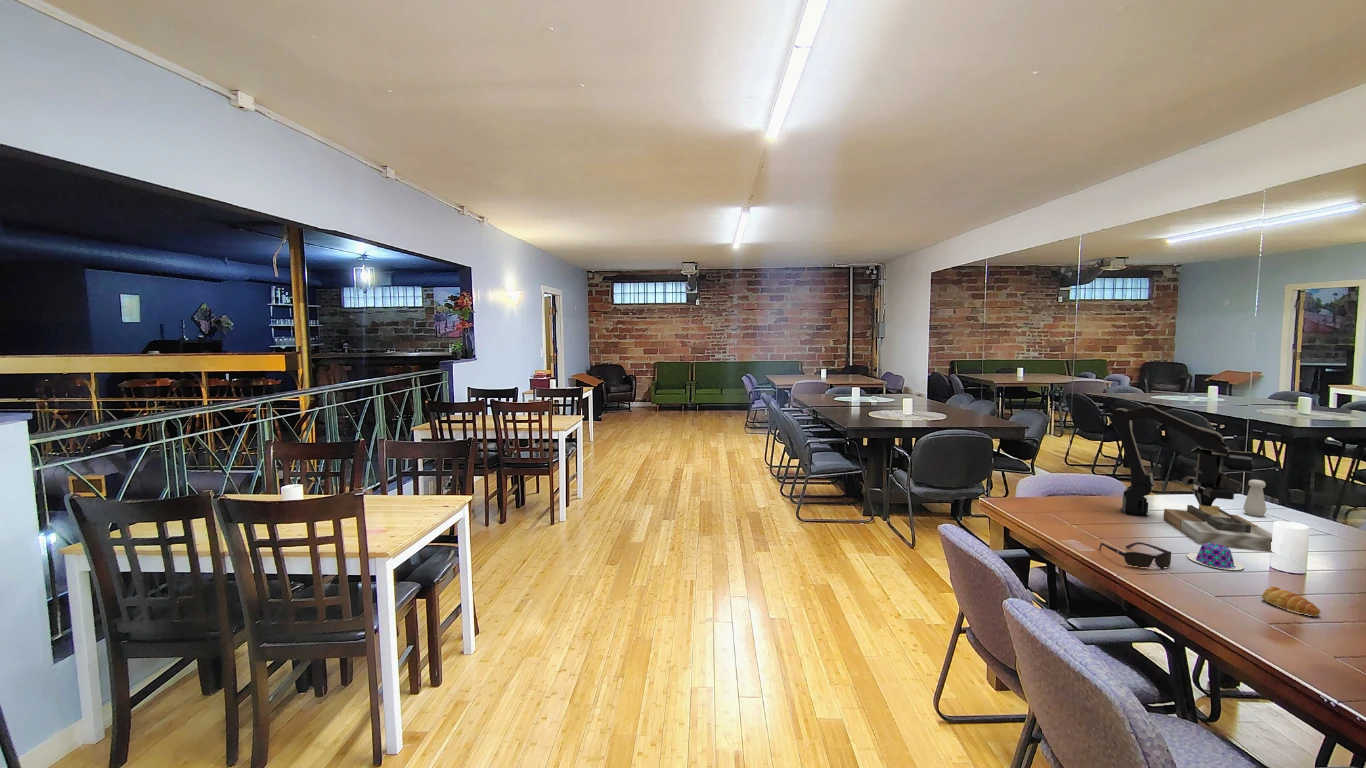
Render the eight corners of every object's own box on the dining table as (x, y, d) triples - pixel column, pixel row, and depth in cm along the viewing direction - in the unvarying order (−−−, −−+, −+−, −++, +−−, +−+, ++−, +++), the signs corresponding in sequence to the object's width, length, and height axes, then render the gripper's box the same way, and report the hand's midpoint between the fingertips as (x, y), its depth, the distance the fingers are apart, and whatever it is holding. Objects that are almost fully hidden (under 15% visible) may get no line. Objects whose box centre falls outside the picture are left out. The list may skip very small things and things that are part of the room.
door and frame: (1199, 543, 171) (1200, 524, 171) (1163, 519, 194) (1164, 501, 193) (1282, 552, 164) (1284, 531, 164) (1235, 526, 186) (1237, 507, 186)
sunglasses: (1130, 570, 153) (1131, 553, 153) (1089, 548, 169) (1090, 533, 169) (1178, 570, 153) (1180, 553, 153) (1132, 548, 169) (1133, 533, 169)
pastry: (1328, 617, 128) (1329, 601, 127) (1306, 620, 126) (1308, 605, 126) (1277, 598, 137) (1278, 583, 136) (1257, 601, 135) (1258, 586, 135)
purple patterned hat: (1176, 557, 162) (1177, 540, 161) (1205, 553, 165) (1206, 536, 164) (1225, 574, 150) (1226, 556, 150) (1255, 569, 153) (1256, 551, 153)
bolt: (1211, 522, 179) (1212, 511, 178) (1198, 514, 186) (1199, 504, 186) (1230, 523, 177) (1231, 513, 176) (1216, 516, 184) (1217, 505, 184)
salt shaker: (1270, 517, 195) (1274, 482, 193) (1254, 517, 195) (1257, 482, 194) (1254, 512, 201) (1257, 478, 199) (1238, 512, 201) (1241, 478, 199)
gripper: (1256, 476, 174) (1252, 523, 175) (1222, 463, 191) (1219, 506, 193) (1212, 473, 178) (1208, 519, 179) (1183, 460, 195) (1180, 502, 196)
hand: (1205, 511), depth 187 cm, fingers closed
